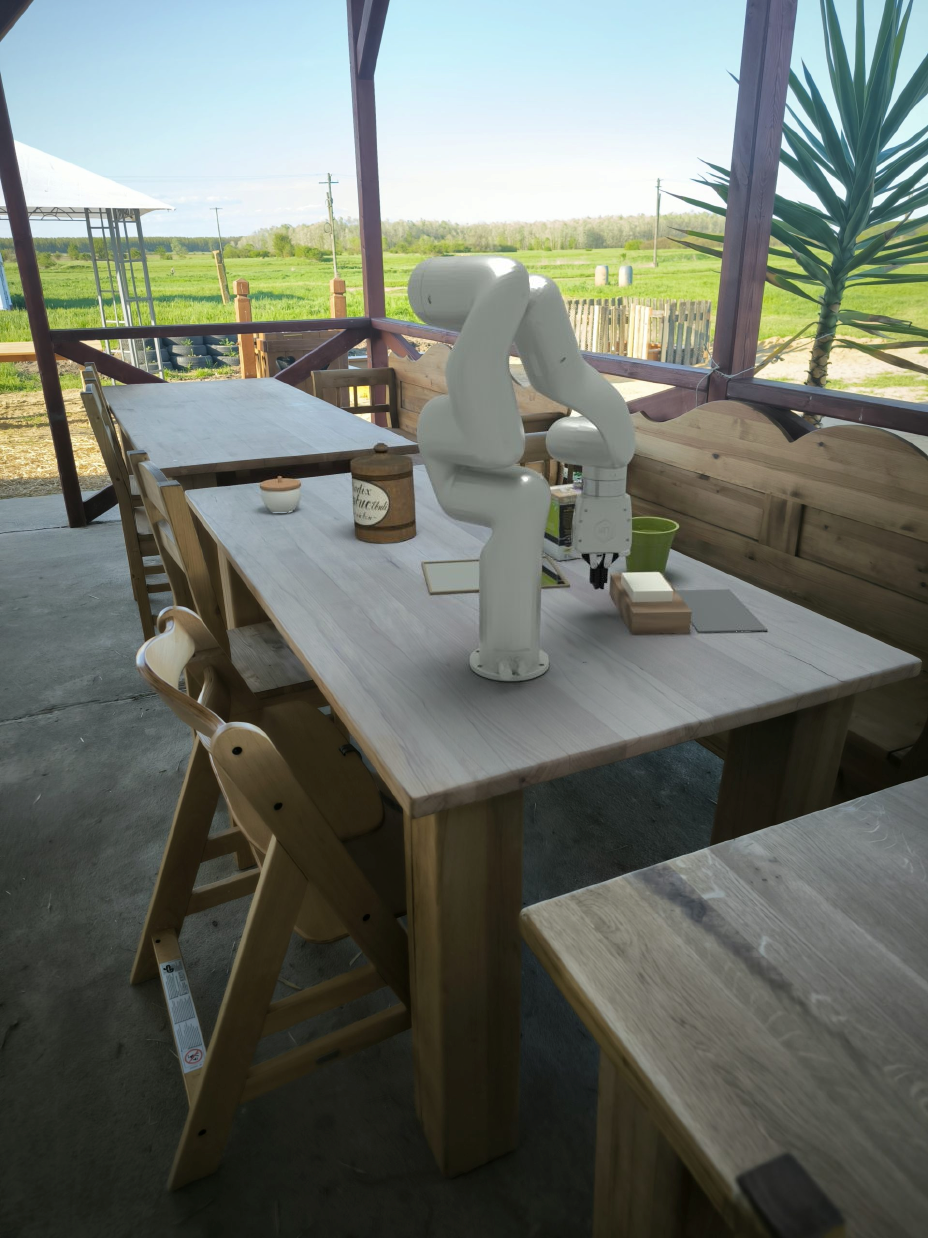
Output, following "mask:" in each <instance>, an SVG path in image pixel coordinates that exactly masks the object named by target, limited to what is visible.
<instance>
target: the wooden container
mask: <svg viewBox="0 0 928 1238" xmlns="http://www.w3.org/2000/svg"><path fill="white" fill-rule="evenodd" d="M372 448H373V452H374V453H373V455H372V454H371V455H364V456H359V457H355V458H352V459H351V460H350V465H349V466H350V474H351V490H352V510H353V511H352V513H353V524H354V525H353V526H354V536H355V538H356V539H357V540H359V541H362V542H366V543H371V544H393V543H398V542H399V543H401V542H405V541H407V540H410V539H412V538H414V537H415V536H416V534H417V521H416V520H417V519H416V495H415V482H414V464H413V458H411V456H408V455H402V454H390V453H389V452H388V451H389V446H388V445H387V444H386V443H384V442H377V443H376V444H375V445H374V446H373V447H372Z"/></svg>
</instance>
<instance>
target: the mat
mask: <svg viewBox="0 0 928 1238" xmlns="http://www.w3.org/2000/svg"><path fill="white" fill-rule="evenodd" d="M675 591H676V592H677V593H678V594H679V596H680V597H681V598H682V600H683V601H684V602H685V603H686V605H687V606H688V607H689V609H690V610H691V611H692V615H691V623H692V624H693V625H692V624H691V625H692V627H693V626H694V627H695V628H694V627H693V628H694V630H695V631H696V630H697V631H696V632H697V634H710V633H709V632H730V633H742V632H741V631H767V632H768V628H767V627H766V626H765V625H764V624H763V623H762V622H761V621H760V620H759V619H758V618H757V617H756V616H755V615H754V614H753V613H752V612H751V611H750V610H749V608H747V606H746V605H745V604H744V602H742V601H741V600H740V599H739V598H738V597H737V596H736V595H735V594H734V593H733V591H732V590H730V589H729V588H728V589H686V590H685V589H681V590H678V589H677V590H676V589H675ZM736 631H737V632H736ZM705 632H706V633H705ZM707 632H708V633H707Z"/></svg>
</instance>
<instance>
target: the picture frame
mask: <svg viewBox="0 0 928 1238" xmlns="http://www.w3.org/2000/svg"><path fill="white" fill-rule="evenodd" d="M420 565H421V568H422V571H423V572H422V573H423V574H424V578H425V582H426V586H427V590H428V594H429V596H442V595H443V596H444V595H458V594H461V595H463V594H477V593H478V594H479V558H469V559H468V558H466V559H449V560H447V559H445V560H430V561H429V560H427V561H421V563H420ZM563 588H564V589H565V588H568V589H569V588H571V584H570V583H569V581H568V580H567V578H565V576H564V574H562V572H561V571H560V570H559V569H558V566H557V565H556V564H555V562H554V561H553V560H552V559H551V556H549V555H548V554H546V555H542V581H541V590H547V589H563Z"/></svg>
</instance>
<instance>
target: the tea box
mask: <svg viewBox="0 0 928 1238" xmlns="http://www.w3.org/2000/svg"><path fill="white" fill-rule="evenodd" d="M549 486H550V489H551V504H550V509H549V514H548V518H547V523H546V528H545V534H544V541H543V553H544V554H546V555H548V556H549V557H550V558H552V559H554V560H556V561H558V562H560V561H567V560H575V559H577V558H576V557H572V556H571V555H570V553H569V552H570V548H571V545H572V542H571V531H572V522H573V514H574V508H575V503H576V499H577V495H578V493H580V492H581V490H580V489H578V488H573V483H567V484H559V485H552V486H551V485H549ZM602 554H603V553H596V556H602Z"/></svg>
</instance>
